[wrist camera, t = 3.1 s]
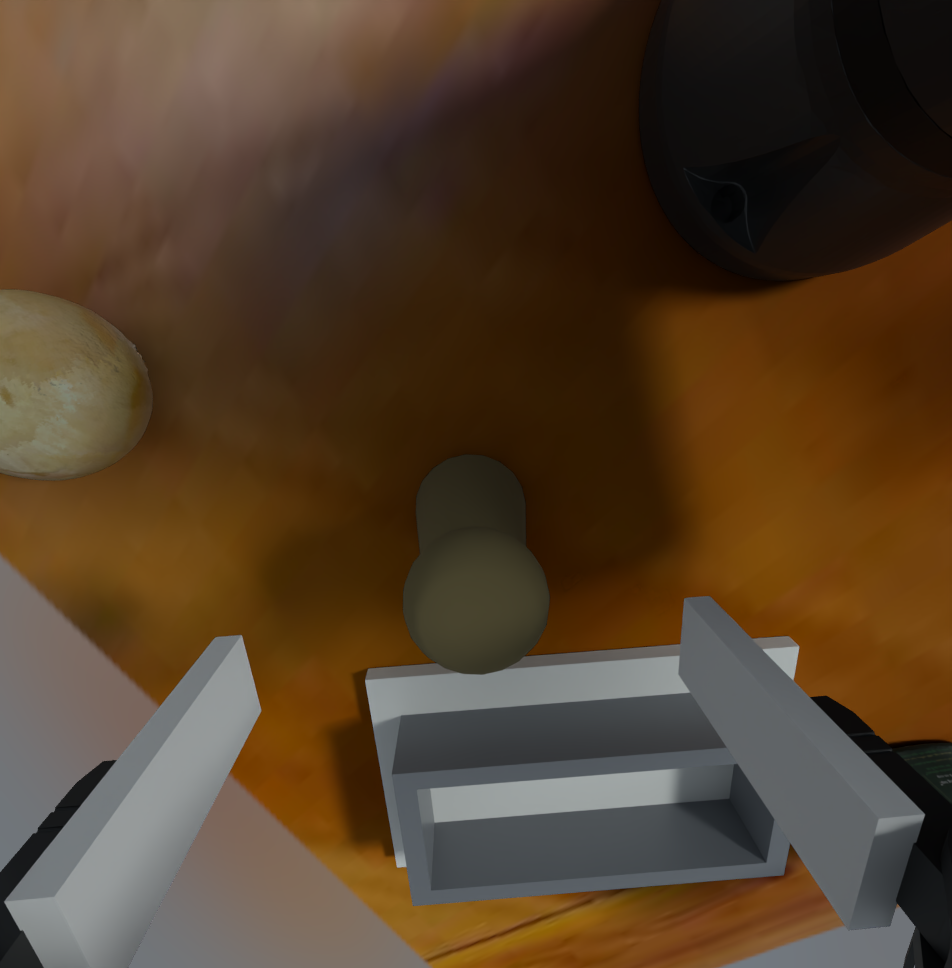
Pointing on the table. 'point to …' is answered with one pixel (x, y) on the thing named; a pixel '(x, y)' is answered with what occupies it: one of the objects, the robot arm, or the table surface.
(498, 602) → the cork
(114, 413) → the onion
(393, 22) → the table surface
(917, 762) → the coffee jar
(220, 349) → the table surface
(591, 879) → the slot well
